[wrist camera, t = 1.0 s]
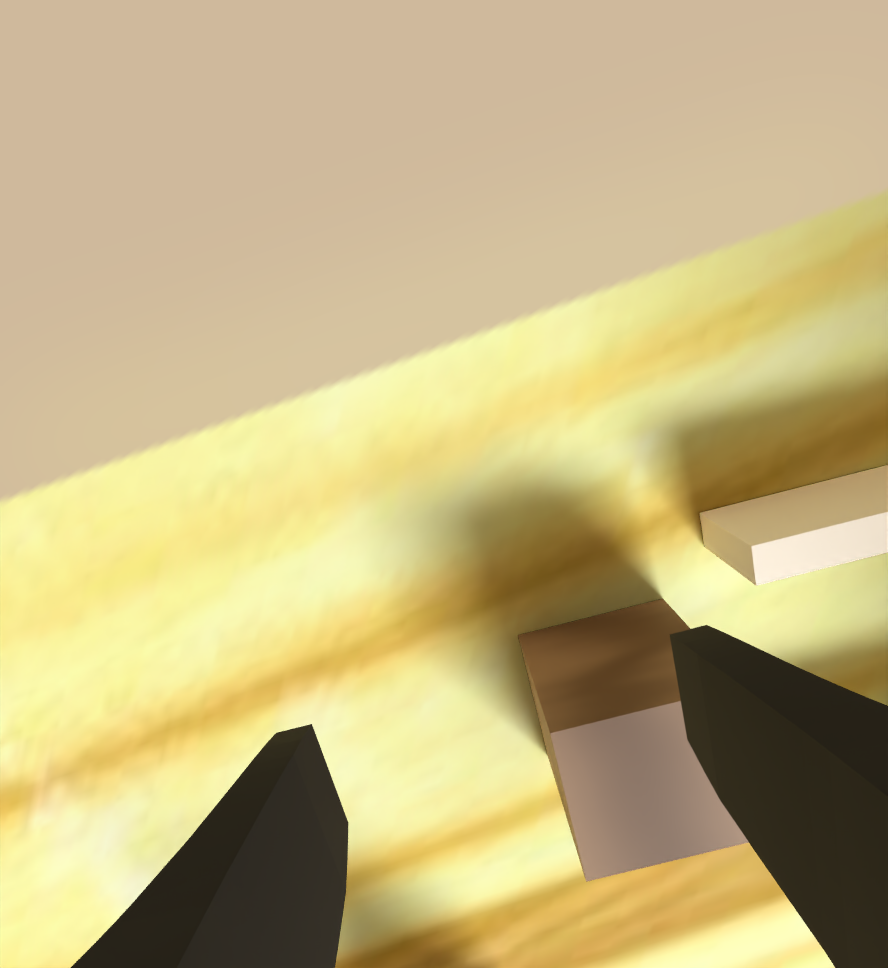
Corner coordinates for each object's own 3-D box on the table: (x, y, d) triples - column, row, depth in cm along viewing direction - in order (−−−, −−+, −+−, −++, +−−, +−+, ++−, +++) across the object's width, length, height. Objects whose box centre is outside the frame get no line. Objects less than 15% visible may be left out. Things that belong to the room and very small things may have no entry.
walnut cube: (662, 597, 20) (742, 685, 15) (683, 720, 21) (763, 838, 16) (517, 634, 20) (550, 733, 15) (547, 754, 21) (586, 881, 16)
